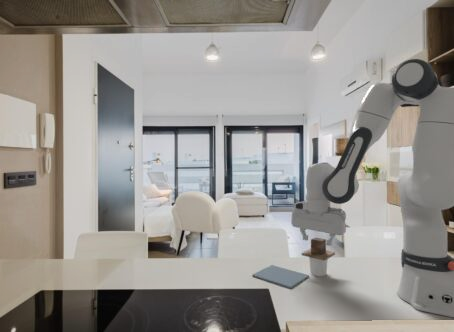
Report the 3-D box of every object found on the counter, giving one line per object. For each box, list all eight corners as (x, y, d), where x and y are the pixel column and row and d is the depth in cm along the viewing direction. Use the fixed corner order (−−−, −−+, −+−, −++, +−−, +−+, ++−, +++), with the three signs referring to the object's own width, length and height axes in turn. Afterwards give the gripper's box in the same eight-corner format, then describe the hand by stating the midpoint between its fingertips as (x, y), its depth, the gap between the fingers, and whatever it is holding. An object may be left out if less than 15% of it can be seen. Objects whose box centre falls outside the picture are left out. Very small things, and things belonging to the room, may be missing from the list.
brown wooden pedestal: (335, 254, 109) (335, 239, 109) (324, 260, 102) (324, 244, 102) (312, 249, 115) (312, 235, 115) (301, 255, 109) (301, 239, 108)
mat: (309, 276, 106) (309, 275, 106) (291, 288, 96) (291, 287, 96) (272, 266, 116) (272, 265, 116) (252, 276, 107) (252, 274, 107)
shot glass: (305, 271, 111) (304, 253, 110) (318, 268, 114) (318, 250, 113) (317, 278, 104) (317, 258, 104) (332, 274, 107) (332, 256, 107)
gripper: (349, 208, 104) (348, 246, 104) (297, 202, 118) (297, 235, 118) (342, 210, 99) (341, 250, 100) (289, 203, 113) (289, 238, 113)
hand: (317, 242), depth 109 cm, fingers open, 8 cm apart
